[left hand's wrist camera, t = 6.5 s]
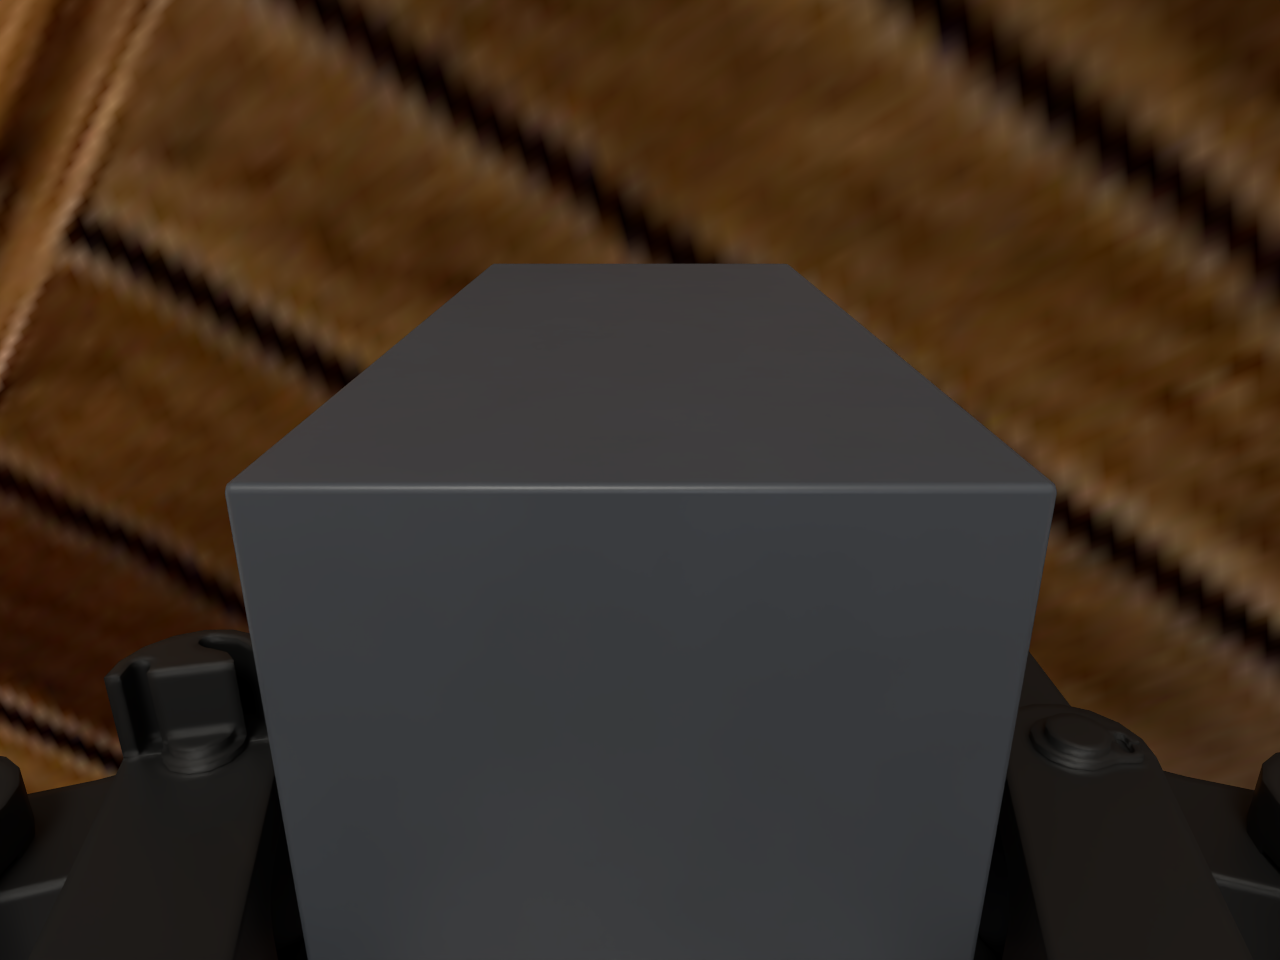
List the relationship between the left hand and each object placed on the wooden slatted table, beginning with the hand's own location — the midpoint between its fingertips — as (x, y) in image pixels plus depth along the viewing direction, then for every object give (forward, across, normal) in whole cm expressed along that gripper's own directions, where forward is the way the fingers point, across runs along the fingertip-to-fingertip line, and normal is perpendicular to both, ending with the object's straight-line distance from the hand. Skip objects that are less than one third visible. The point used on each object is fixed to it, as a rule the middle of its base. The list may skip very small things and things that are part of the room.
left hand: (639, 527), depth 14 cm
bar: (+1, 0, -7) cm, 7 cm away
